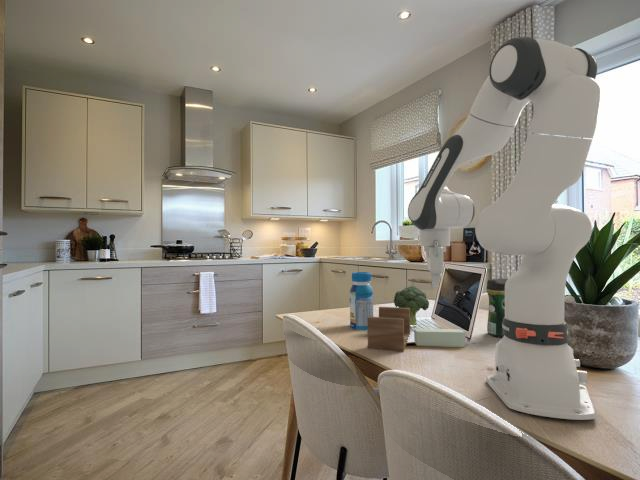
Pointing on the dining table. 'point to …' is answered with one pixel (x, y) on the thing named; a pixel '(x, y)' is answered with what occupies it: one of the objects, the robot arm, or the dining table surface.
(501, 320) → the coffee jar
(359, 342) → the dining table surface
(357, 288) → the beverage bottle
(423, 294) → the vegetable
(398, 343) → the wooden napkin holder
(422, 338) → the pale green rectangular bar
